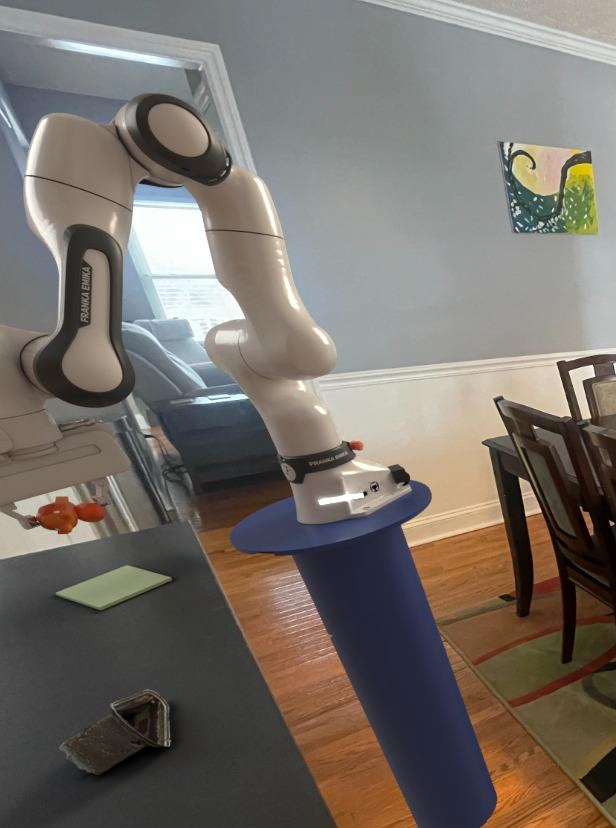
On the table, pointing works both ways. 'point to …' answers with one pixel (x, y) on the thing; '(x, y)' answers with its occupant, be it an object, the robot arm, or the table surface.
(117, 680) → the table surface
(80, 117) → the robot arm
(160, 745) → the brown hollow wedge shell
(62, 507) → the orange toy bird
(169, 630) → the table surface
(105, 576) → the place mat
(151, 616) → the table surface
